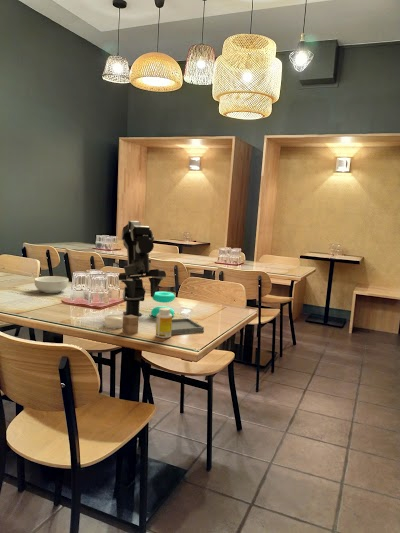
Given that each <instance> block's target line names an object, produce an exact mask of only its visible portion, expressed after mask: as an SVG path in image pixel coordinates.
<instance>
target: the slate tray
mask: <svg viewBox="0 0 400 533" xmlns="http://www.w3.org/2000/svg"><path fill="white" fill-rule="evenodd" d="M156 321H157V319H156ZM204 330H205V327H204V326H202V325H201V324H199V323H198V322H196V321H194V320H192V319H190V318H188V317H186V318H183V317H182V318H172V329H171V336H172V335H182V334H193V333H194V334H196V333H204Z"/></svg>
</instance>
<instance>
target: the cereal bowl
mask: <svg viewBox="0 0 400 533" xmlns="http://www.w3.org/2000/svg"><path fill="white" fill-rule="evenodd" d="M69 281H70V280H69V278H68V277H66V276H59V275H58V276H56V275H54V276H53V275H52V276H48V275H46V276H39V277H35V278H34V286H35V287H36V289H37V290H39V291H41V292H43V293H44V294H59V293H60V292H61V291H64V290H65V289H67V288H68V286H69ZM58 292H59V293H58Z"/></svg>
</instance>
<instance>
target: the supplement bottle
mask: <svg viewBox="0 0 400 533" xmlns="http://www.w3.org/2000/svg"><path fill="white" fill-rule="evenodd" d="M172 319H173V316H172V314H170V309H169V308H160V309H159V313H158V314H157V317H156V320H157V321H156V324H155V326H156V327H155V336H156V337H157V338H160V339H168V338H171V336H172V335H171V329H172Z"/></svg>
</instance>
